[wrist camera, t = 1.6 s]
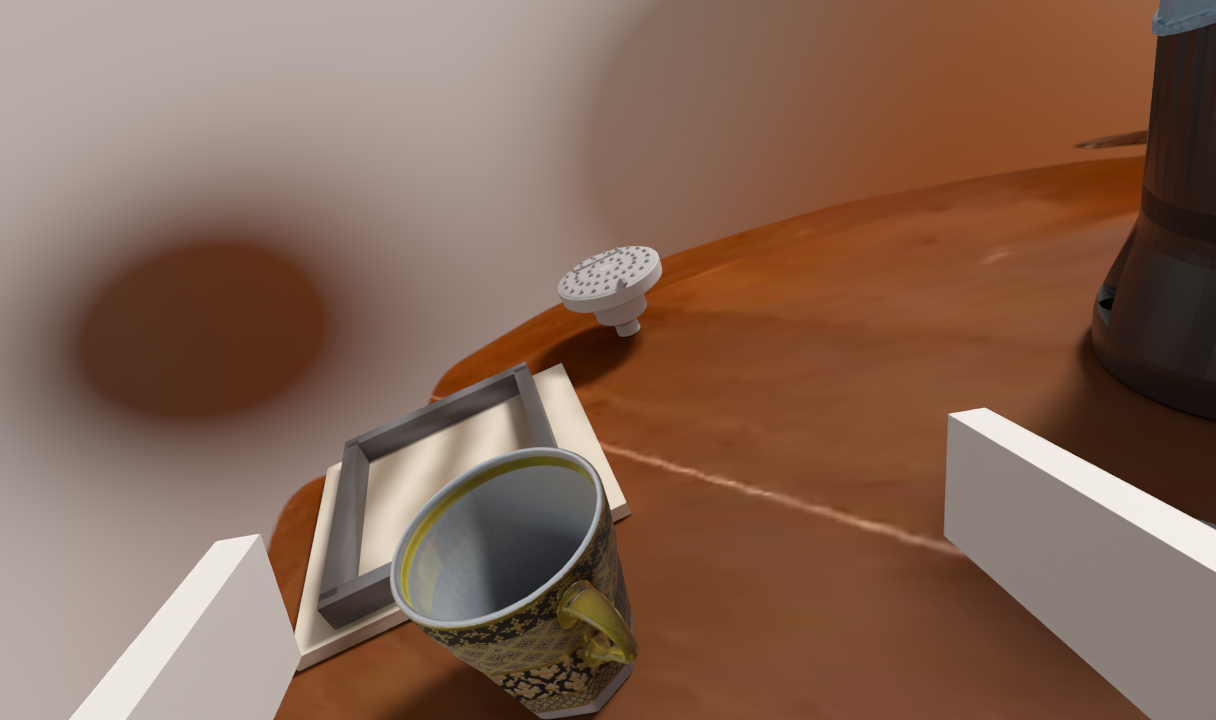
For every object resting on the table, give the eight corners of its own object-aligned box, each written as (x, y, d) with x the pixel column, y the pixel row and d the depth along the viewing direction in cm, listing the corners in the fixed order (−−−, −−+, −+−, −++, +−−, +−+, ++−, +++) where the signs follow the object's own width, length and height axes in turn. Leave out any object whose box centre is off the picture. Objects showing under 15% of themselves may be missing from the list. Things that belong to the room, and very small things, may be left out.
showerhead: (572, 304, 51) (542, 269, 60) (602, 376, 55) (569, 333, 63) (675, 254, 52) (631, 227, 61) (698, 328, 56) (653, 293, 64)
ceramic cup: (452, 677, 34) (355, 555, 29) (584, 548, 39) (519, 423, 34) (608, 867, 25) (502, 733, 20) (759, 666, 29) (705, 516, 24)
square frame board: (565, 371, 57) (553, 344, 56) (631, 513, 40) (616, 479, 38) (334, 476, 56) (315, 451, 54) (298, 671, 38) (269, 642, 37)
